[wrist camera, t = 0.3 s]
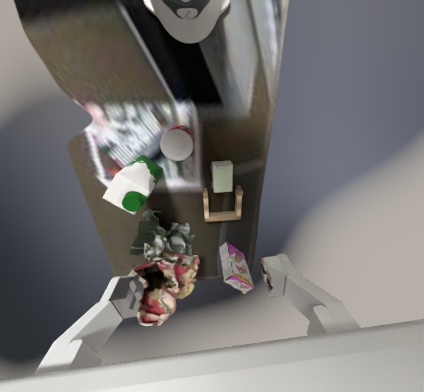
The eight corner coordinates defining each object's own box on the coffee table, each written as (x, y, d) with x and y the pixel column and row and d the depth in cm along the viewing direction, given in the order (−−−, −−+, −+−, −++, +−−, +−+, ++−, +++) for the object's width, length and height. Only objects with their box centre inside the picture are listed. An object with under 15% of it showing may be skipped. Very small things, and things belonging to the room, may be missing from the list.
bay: (202, 187, 58) (203, 194, 54) (239, 185, 59) (243, 191, 55) (204, 216, 64) (205, 224, 60) (238, 214, 65) (241, 221, 60)
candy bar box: (244, 252, 74) (255, 287, 60) (236, 259, 76) (244, 294, 61) (226, 240, 70) (233, 274, 56) (218, 247, 72) (223, 282, 57)
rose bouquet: (131, 261, 72) (91, 350, 45) (141, 204, 60) (95, 280, 33) (189, 271, 77) (184, 356, 51) (209, 220, 65) (216, 298, 39)
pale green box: (210, 161, 55) (211, 167, 49) (232, 160, 55) (235, 165, 50) (211, 186, 59) (212, 194, 54) (231, 185, 59) (234, 192, 54)
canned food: (198, 145, 52) (198, 154, 42) (175, 155, 53) (169, 166, 43) (187, 120, 48) (184, 123, 39) (162, 131, 49) (153, 137, 40)
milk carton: (152, 187, 57) (131, 222, 39) (127, 172, 54) (92, 202, 36) (166, 167, 54) (150, 195, 37) (140, 150, 51) (109, 172, 34)
